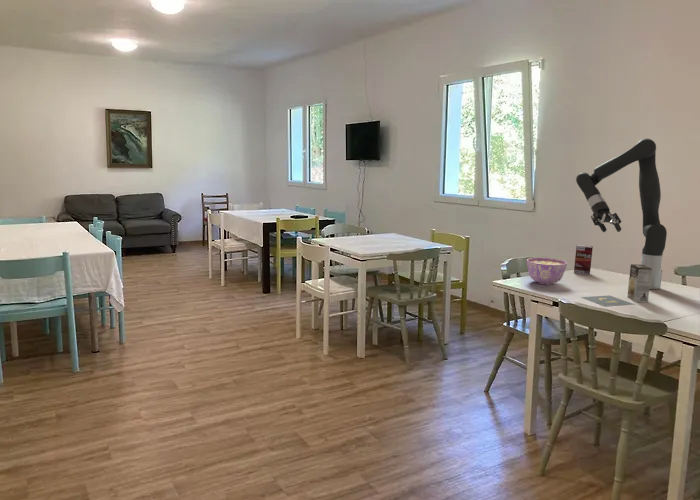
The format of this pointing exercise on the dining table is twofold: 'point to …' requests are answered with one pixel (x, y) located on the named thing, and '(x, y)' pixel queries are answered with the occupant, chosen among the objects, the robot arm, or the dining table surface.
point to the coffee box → (639, 283)
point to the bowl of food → (546, 269)
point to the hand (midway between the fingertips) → (612, 231)
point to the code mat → (607, 300)
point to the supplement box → (583, 259)
